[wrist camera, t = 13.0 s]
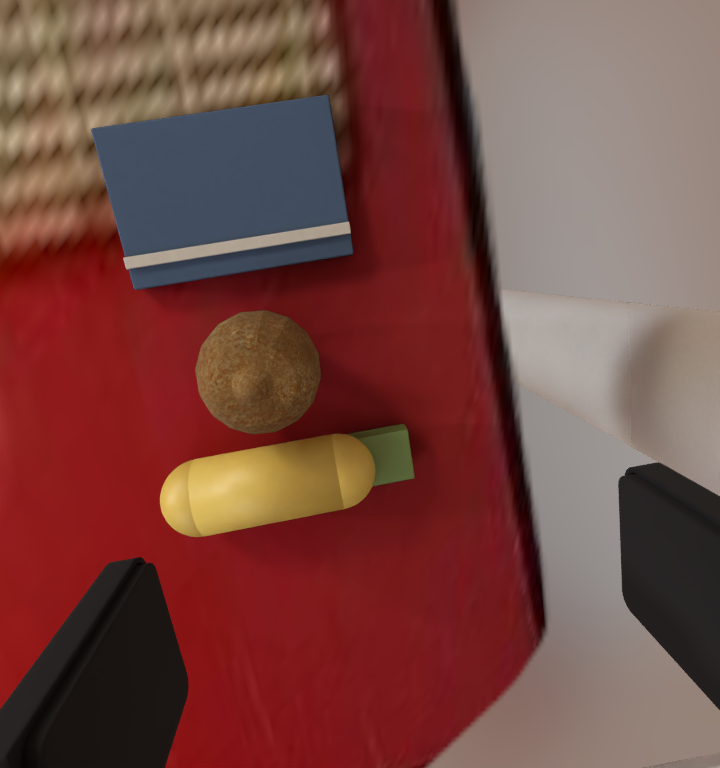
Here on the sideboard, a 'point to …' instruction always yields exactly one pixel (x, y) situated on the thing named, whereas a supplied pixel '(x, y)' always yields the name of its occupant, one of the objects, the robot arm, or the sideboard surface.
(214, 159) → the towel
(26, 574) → the sideboard surface
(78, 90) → the sideboard surface
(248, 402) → the fruit
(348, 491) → the corn cob
